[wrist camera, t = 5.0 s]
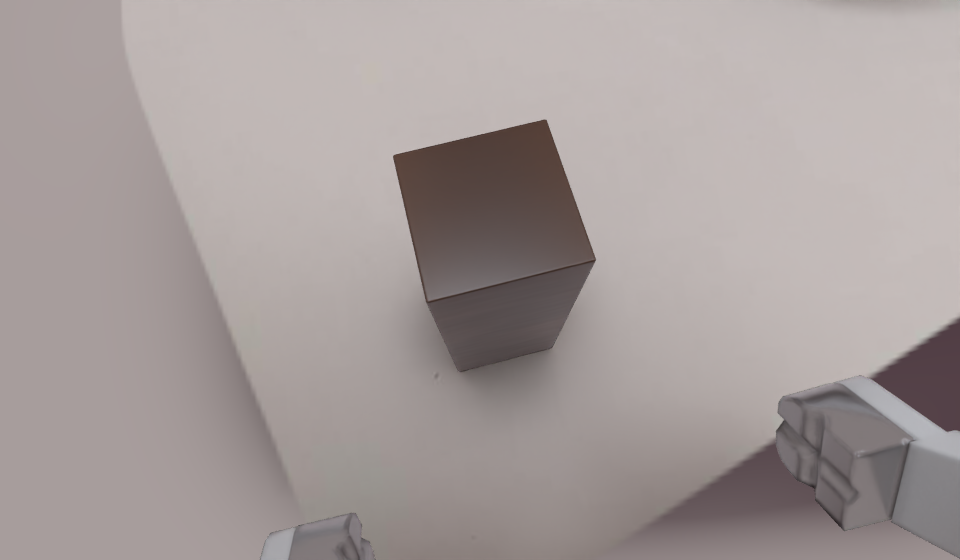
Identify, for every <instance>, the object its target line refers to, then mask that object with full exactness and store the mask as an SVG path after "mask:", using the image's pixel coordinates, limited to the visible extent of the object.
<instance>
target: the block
mask: <svg viewBox="0 0 960 560" xmlns="http://www.w3.org/2000/svg"><path fill="white" fill-rule="evenodd" d="M393 159H394V163H395V167H396V172H397V176H398V180H399V185H400V189H401V194H402V198H403V202H404V207H405V211H406V216H407V220H408V224H409V229H410V233H411V238H412V242H413V246H414V251H415V255H416V260H417V264H418V268H419V273H420V277H421V282H422V286H423V290H424V295H425V299H426V303H427V305H428V307H429V309H430V311H431V313H432V316H433V318H434V320H435V322H436V324H437V326H438V329H439V331H440V333H441V335H442V337H443V339H444V341H445V344H446V346H447V348H448V350H449V352H450V354H451V357H452V359H453V361H454V363H455V365H456V367H457V370H458V371H459V372H461V371H465V370H469V369H473V368H476V367H480V366H484V365H488V364H492V363H496V362H500V361H503V360H507V359H511V358H515V357H519V356H523V355H527V354H530V353H534V352H538V351H542V350H546V349H550V348H552V347H553V345H554V343H555V341H556V339H557V337H558V335H559V333H560V331H561V329H562V327H563V325H564V323H565V321H566V319H567V317H568V315H569V313H570V311H571V309H572V307H573V305H574V303H575V301H576V299H577V297H578V295H579V293H580V291H581V289H582V287H583V285H584V283H585V281H586V279H587V277H588V275H589V273H590V271H591V269H592V267H593V265H594V263H595V261H596V258H595V255H594V253H593V250H592V247H591V244H590V241H589V239H588V236H587V233H586V230H585V227H584V224H583V222H582V219H581V216H580V213H579V210H578V207H577V205H576V202H575V199H574V196H573V193H572V191H571V188H570V185H569V182H568V179H567V176H566V174H565V171H564V168H563V165H562V162H561V160H560V157H559V154H558V151H557V148H556V145H555V143H554V140H553V137H552V134H551V131H550V128H549V126H548V123H547V120H541V121H537V122H532V123H528V124H524V125H520V126H515V127H511V128H507V129H503V130H498V131H494V132H490V133H486V134H481V135H477V136H473V137H469V138H464V139H460V140H456V141H452V142H447V143H443V144H439V145H435V146H430V147H426V148H422V149H418V150H413V151H409V152H405V153H401V154H396V155H394V156H393Z"/></svg>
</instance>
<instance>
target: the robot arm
mask: <svg viewBox="0 0 960 560" xmlns="http://www.w3.org/2000/svg"><path fill="white" fill-rule="evenodd" d="M778 414H779V415H780V416H781V417H782V418H783V419H784V421H783V422H782V424H781V425H780V427H779V428H778V429H777V431H776V446H777V449H778V452H779V455H780V458H781V460H782V462H783V463H784V465H785V466H786V468H787V470H788V471H789V472H790V473H791V474H792V475H793V476H794V477H795V479H796V480H797V481H799V482H802V483H804V484H806V485H808V486H811V487H813V488H814V489H815V500H816V501H817V502H818V503H819V504H820V506H821V507H822V508H823V509H824V510H825V511H826V512H827V513H828V514H829V515H830V516H831V518H832V519H833V520H834V521H835V522H836V523H837V524H838V525H839V526H840V527H841V528H842V529H843V530H844V531H847V530H851V529H855V528H859V527H863V526H867V525H871V524H875V523H879V522H883V521H887V520H891V519H892V521H891V522H892V523H894V524H896V525H898V526H899V527H901V528H903V529H905V530H907V531H909V532H911V533H913V534H914V535H917V536H918V537H920V538H922V539H924V540H926V541H928V542H929V543H931V544H933V545H935V546H937V547H939V548H941V549H943V550H945V551H947V552H949V553H950V554H952V555H954V556H956V557H958V558H960V432H959V431H956V430H954V431H950V432H946V431H944V430H943V429H941V428H940V427H939V426H937V425H936V424H934V423H933V422H931V421H930V420H929V419H927V418H926V417H924V416H923V415H921V414H920V413H918V412H917V411H916V410H914V409H913V408H911V407H910V406H909V405H907V404H906V403H904V402H903V401H901V400H900V399H899V398H897V397H896V396H894V395H893V394H891V393H890V392H889V391H887V390H885V389H884V388H882V387H881V386H880V385H879V384H877V383H876V382H874V381H873V380H871V379H870V378H868V377H864V376H861V375H859V376H855V377H851V378H848V379H844V380H841V381H837V382H834V383H829V384H825V385H822V386H818V387H815V388H811V389H808V390H804V391H801V392H797V393H793V394H790V395H786V396H783V397H782V398H781V400H780V401H779V403H778ZM361 535H362V524H361V522H360V520H359V518H358V516H357V514H356V513H349V514H345V515H340V516H336V517H332V518H328V519H324V520H320V521H315V522H311V523H307V524H303V525H299V526H297V527H293V528H289V529H285V530H280V531H276V532H272V533H270V535H269V536H268V538H267V539H266V541H265V543H264V547H263V551H262V555H261V558H260V560H376V559H375V555H374V551H373V549H372V546H371V544H370V542H369V541H367V540H365V539H363V538H361Z"/></svg>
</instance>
